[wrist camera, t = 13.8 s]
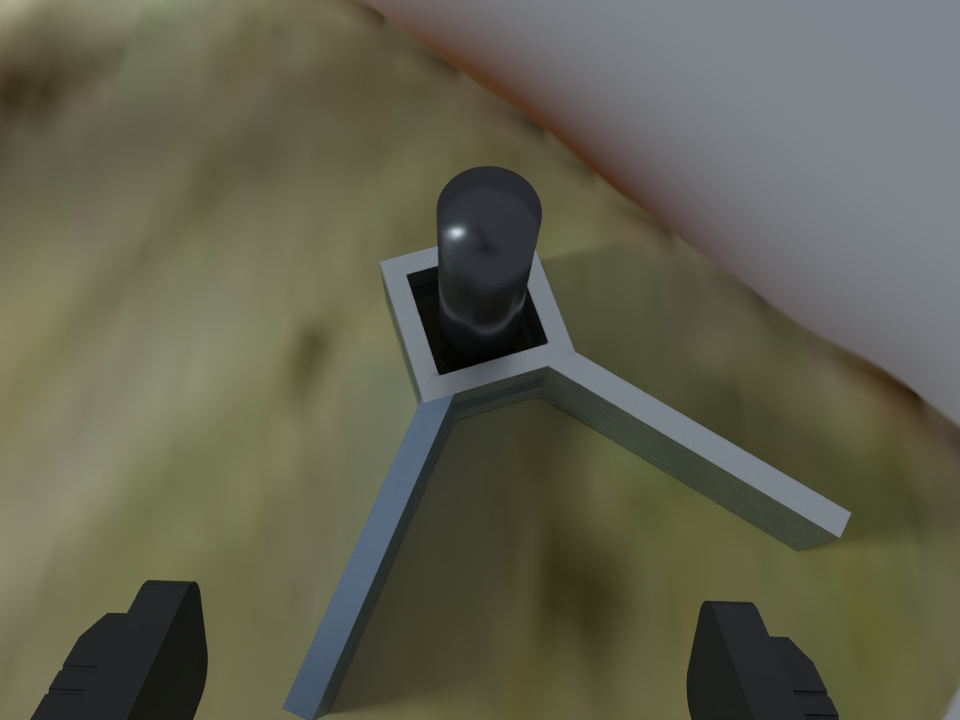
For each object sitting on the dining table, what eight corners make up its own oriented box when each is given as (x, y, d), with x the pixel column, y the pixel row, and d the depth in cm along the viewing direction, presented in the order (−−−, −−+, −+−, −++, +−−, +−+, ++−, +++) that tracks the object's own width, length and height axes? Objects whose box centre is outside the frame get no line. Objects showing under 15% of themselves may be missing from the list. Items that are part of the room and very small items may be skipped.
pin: (453, 390, 33) (455, 271, 23) (431, 324, 34) (423, 181, 24) (523, 368, 34) (556, 242, 23) (500, 304, 35) (521, 155, 24)
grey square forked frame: (217, 347, 34) (191, 313, 30) (670, 221, 36) (692, 176, 33) (306, 721, 29) (287, 730, 26) (816, 544, 32) (860, 531, 28)
